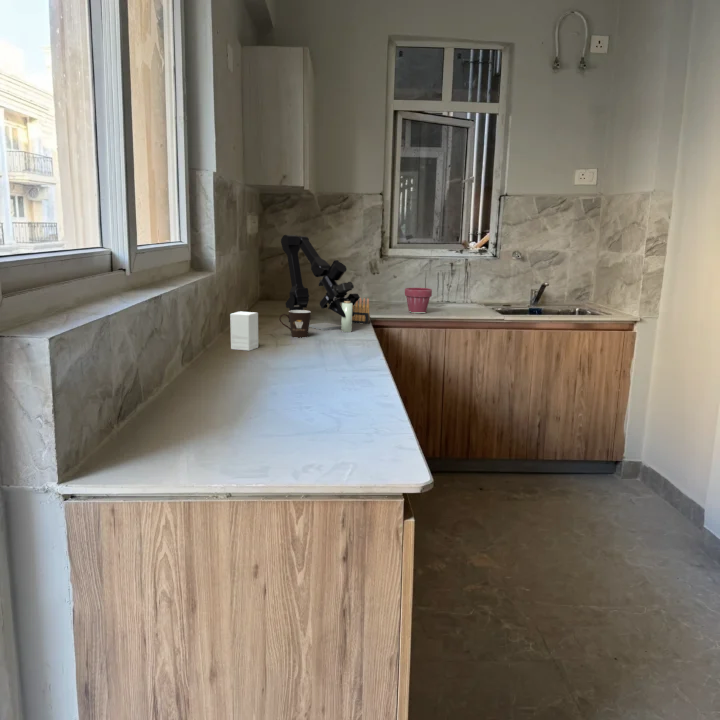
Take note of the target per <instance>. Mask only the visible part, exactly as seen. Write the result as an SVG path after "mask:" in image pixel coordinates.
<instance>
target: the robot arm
mask: <svg viewBox="0 0 720 720" xmlns="http://www.w3.org/2000/svg"><path fill="white" fill-rule="evenodd" d="M309 239H310V238H309V237H308V236H306V235H299V236H298V235H297V234H285V235H283V236H282V237H281V239H280V244H281V249H282V251H283V252H284V253H285V255H286V256H287V263H288V268H289V269H288V270H289V276H290V283H291V288H290V289H289V298H288V299H287V300H286V302H285V307H286V309H289V310H288V312H289V311H291V310H305V309H307V308H308V304H309V300H310V294H309V288H308V287H305V286H304V284H303V279H302V278H303V277H302V271H301V265H300V258H299V252H300V250H301V251H302V253H303V254H304V255H305V257H306V259H307V260H308V261H309V264H310V270H311V272H312V274H313V276H314V277H315V278H321V279H319V282H318V286H319V287H324V290H326V291H325V292H326V293H325V295H324V296H323V297H322V298H321V300H320V301H319V307H320V308H321V309H328V310H331V311H332V312H334V313H336V314H338V315H340V316H342V317H345V316H346V315H345V313H344V311H343V309H342V303H344V301H350V303H353V305H354V306H355V303H356V302H357V301H358V302H359V300H360V295H359V294H358V293H354V292H353V293H349V294H348V292H350V291H352V290H353V289H354V283H353V282H352V281H347V282H342V283H340V284H338V282H337V281H340V279H341V278H342V277H343V275H345V273H346V272H347V270H348V269H347V266H346V265H345V264H344V263H343V262H341V261H339V260H338V259H337V260H335V259H334V260H333V262H332V264H331V265H330V264H329V263H328V261H326V260H325V259H323V258H321V257H320V255H319V253H318V251H316V249H315V248H314V246H313V245H312V243H311V242H310V240H309ZM353 305H352V317H353V316H354V317H355V315H354V312H355V311H353ZM304 308H305V309H304ZM288 323H290V320H289V319H288Z"/></svg>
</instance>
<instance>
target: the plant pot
mask: <svg viewBox="0 0 720 720" xmlns="http://www.w3.org/2000/svg"><path fill="white" fill-rule="evenodd" d="M432 290H433V289H432V288H429V287H405V289H404V296H405V298H406V303H407V304H406V305H407V308H408V312H409V311H411V312H426V313H427V309H428V306H429V302H430V299H431V297H432V296H433V295H432V294H433V293H432V292H433V291H432Z"/></svg>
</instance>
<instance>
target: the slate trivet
mask: <svg viewBox="0 0 720 720" xmlns="http://www.w3.org/2000/svg"><path fill="white" fill-rule="evenodd" d="M309 327H312V328H311V329H314V328H316V329H315V330H319V329H321V330H320V331H329V330H328V329H331V330H338V329H337V328H340V329H341V324H335V323H334V324H333V323H329V322H319V323H309Z"/></svg>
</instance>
